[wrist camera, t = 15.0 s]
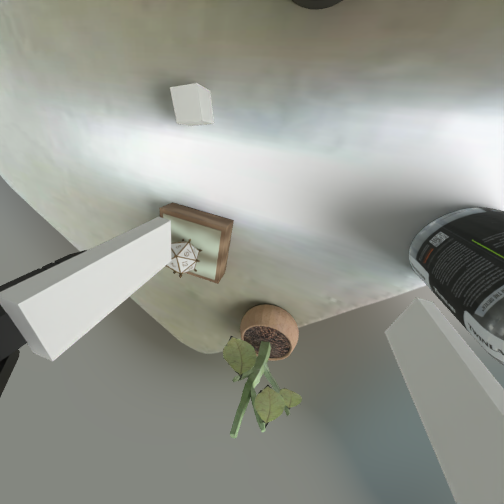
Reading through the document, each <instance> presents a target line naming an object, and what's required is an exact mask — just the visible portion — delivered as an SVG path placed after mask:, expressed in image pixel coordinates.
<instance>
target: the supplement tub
mask: <svg viewBox="0 0 504 504" xmlns="http://www.w3.org/2000/svg"><path fill="white" fill-rule="evenodd" d="M409 261H410V264H411V266H412V268H413V270H414V271H415V272H416V274H417V275H418V276H419V277H420V278H421V279H422V280H423V281H424V282H425V284H426V285H427V286H428V287H429V288H430V289H431V290H432V291H433V293H435V295H436V296H437V297H438V298H439V299H440V300H441V301H442V302H443V304H444V305H445V306H446V307H447V308H448V309H449V310H450V311H451V313H452V314H453V315H454V316H455V317H456V318H457V319H458V320H459V321H460V322H461V324H462V325H463V326H464V327H465V328H466V329H467V330H468V331H469V332H470V333H471V335H472V336H473V337H474V338H475V339H476V340H477V342H478V343H479V344H480V345H481V346H482V347H483V348H484V349H485V350H486V351H487V352H488V353H489V354H490V355H491V356H492V357H493V358H494V359H496V360H497V361H498V362H499V363H501V364H502V365H504V211H501V210H496V209H490V208H468V209H462V210H458V211H454V212H451V213H449V214H446V215H444V216H442V217H440V218H438V219H436V220H434V221H432V222H431V223H429V224H428V225H427V226H425V227H424V228H423V229H422V230H421V231H420V232H419V233H418V234H417V235H416V237H415V238H414V240H413V242H412V244H411V246H410V250H409Z"/></svg>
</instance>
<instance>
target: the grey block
mask: <svg viewBox="0 0 504 504" xmlns="http://www.w3.org/2000/svg"><path fill="white" fill-rule="evenodd" d="M170 91H171V96H172V101H173V106H174V111H175V116H176V121H177V124H183V125H188V126H196V125H207V124H214V118H213V109H212V101H211V93H210V90H208V89H206V88H205V87H203V86H201V85H200V84H198V83H194V84H188V85H181V86H175V87H170Z"/></svg>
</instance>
